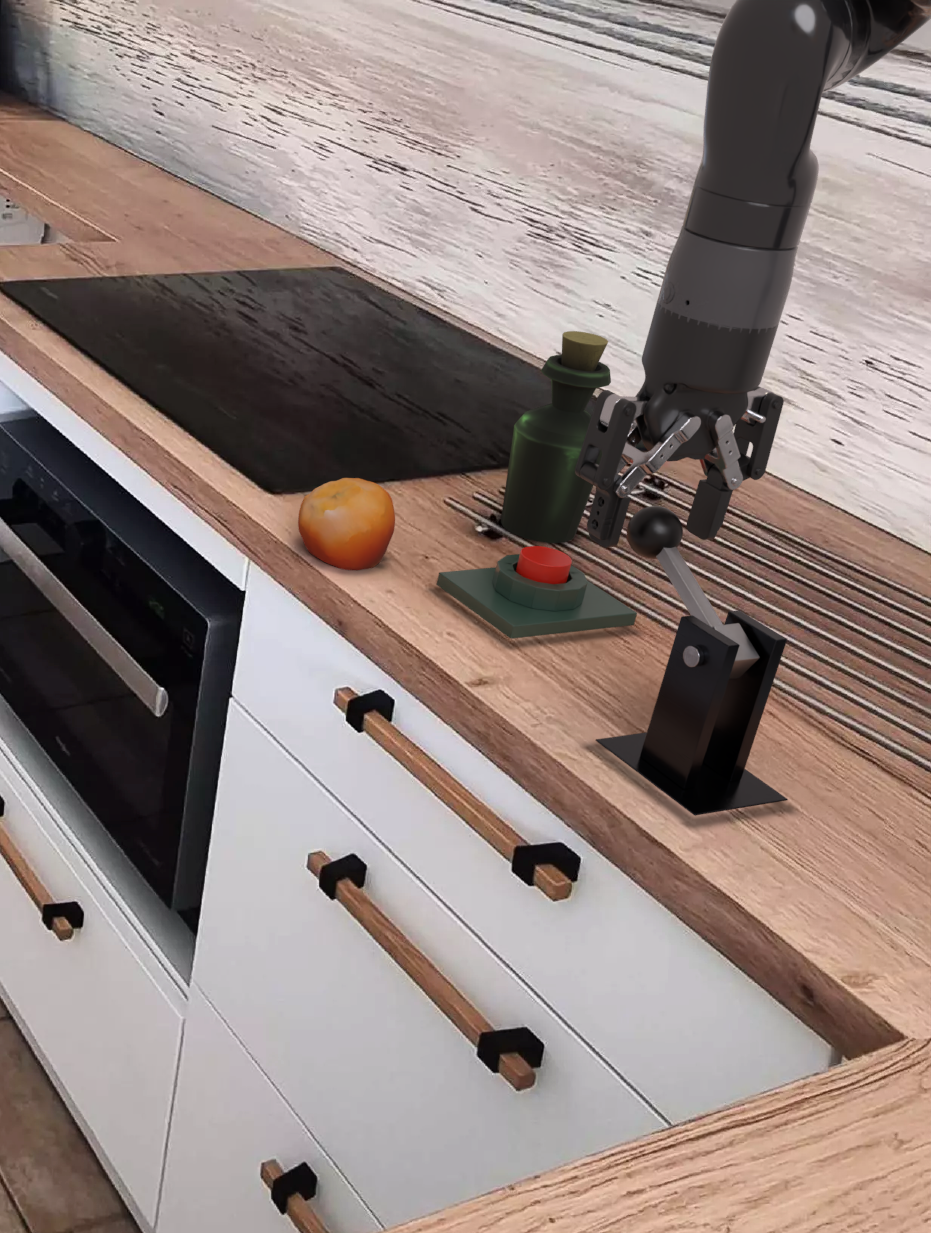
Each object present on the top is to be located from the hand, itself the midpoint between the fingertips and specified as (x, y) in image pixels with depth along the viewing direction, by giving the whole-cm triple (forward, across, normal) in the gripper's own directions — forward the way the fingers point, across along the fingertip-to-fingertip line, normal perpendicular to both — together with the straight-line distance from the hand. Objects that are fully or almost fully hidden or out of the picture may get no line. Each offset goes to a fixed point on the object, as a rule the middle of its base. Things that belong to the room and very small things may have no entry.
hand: (651, 539), depth 121 cm
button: (+11, +6, +16) cm, 20 cm away
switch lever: (+3, 0, -3) cm, 5 cm away
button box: (+14, +6, +16) cm, 22 cm away
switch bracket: (+14, 0, -9) cm, 17 cm away
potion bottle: (+14, +18, +31) cm, 39 cm away
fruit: (+15, -4, +29) cm, 33 cm away
